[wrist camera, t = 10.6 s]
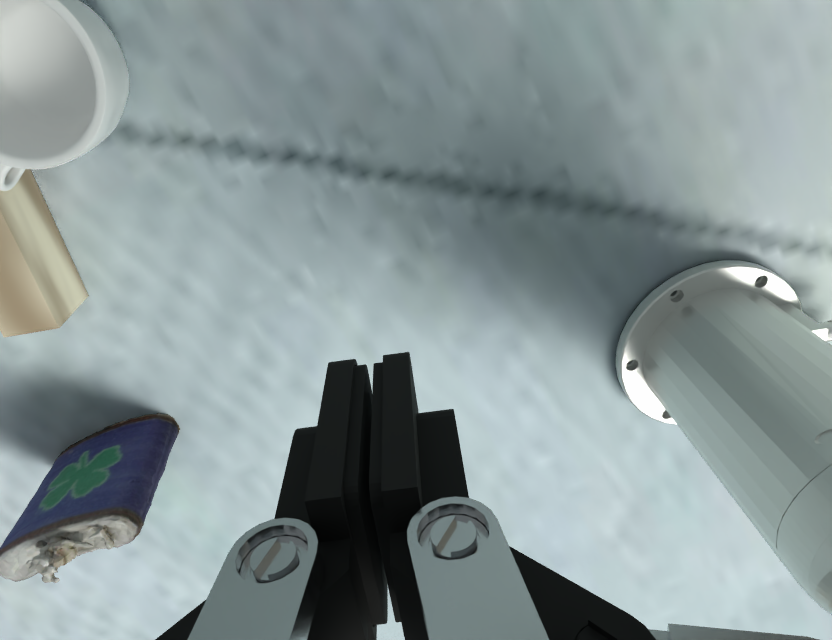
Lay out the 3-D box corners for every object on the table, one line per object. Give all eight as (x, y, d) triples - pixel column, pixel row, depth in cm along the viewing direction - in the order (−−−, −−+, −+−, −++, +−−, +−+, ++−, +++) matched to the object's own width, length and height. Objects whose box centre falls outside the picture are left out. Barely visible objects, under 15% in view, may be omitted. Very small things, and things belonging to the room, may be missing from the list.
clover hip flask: (73, 479, 42) (-10, 617, 32) (45, 450, 40) (-49, 585, 31) (189, 434, 41) (139, 562, 32) (165, 403, 40) (105, 527, 30)
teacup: (2, -60, 27) (-73, -74, 22) (168, 32, 29) (132, 37, 25) (-43, 136, 31) (-116, 161, 26) (107, 204, 33) (66, 238, 28)
